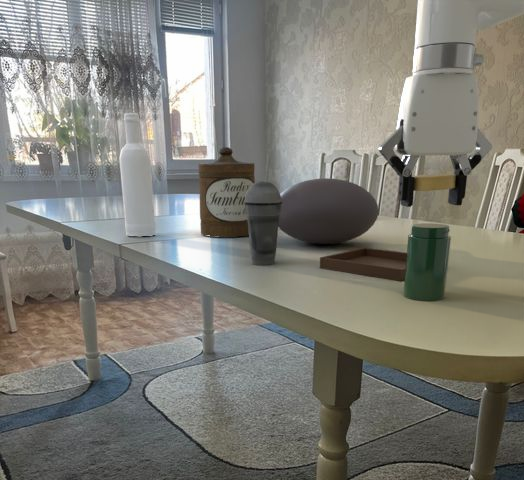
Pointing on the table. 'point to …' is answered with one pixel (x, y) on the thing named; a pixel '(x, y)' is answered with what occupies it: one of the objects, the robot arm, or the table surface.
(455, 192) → the robot arm
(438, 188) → the lid
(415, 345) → the table surface
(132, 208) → the bottle
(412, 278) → the jar
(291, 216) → the smooth stone
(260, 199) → the beverage cup
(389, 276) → the tray
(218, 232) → the wooden container
